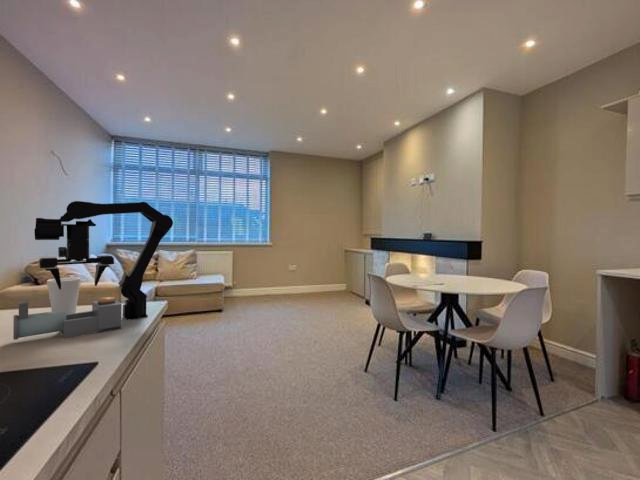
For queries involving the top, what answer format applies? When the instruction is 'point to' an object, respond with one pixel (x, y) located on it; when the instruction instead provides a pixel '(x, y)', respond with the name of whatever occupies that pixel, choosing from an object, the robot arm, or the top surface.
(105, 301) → the plunger
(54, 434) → the top surface
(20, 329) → the cartridge
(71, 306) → the foam cup
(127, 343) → the top surface
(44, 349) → the top surface
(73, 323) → the housing
